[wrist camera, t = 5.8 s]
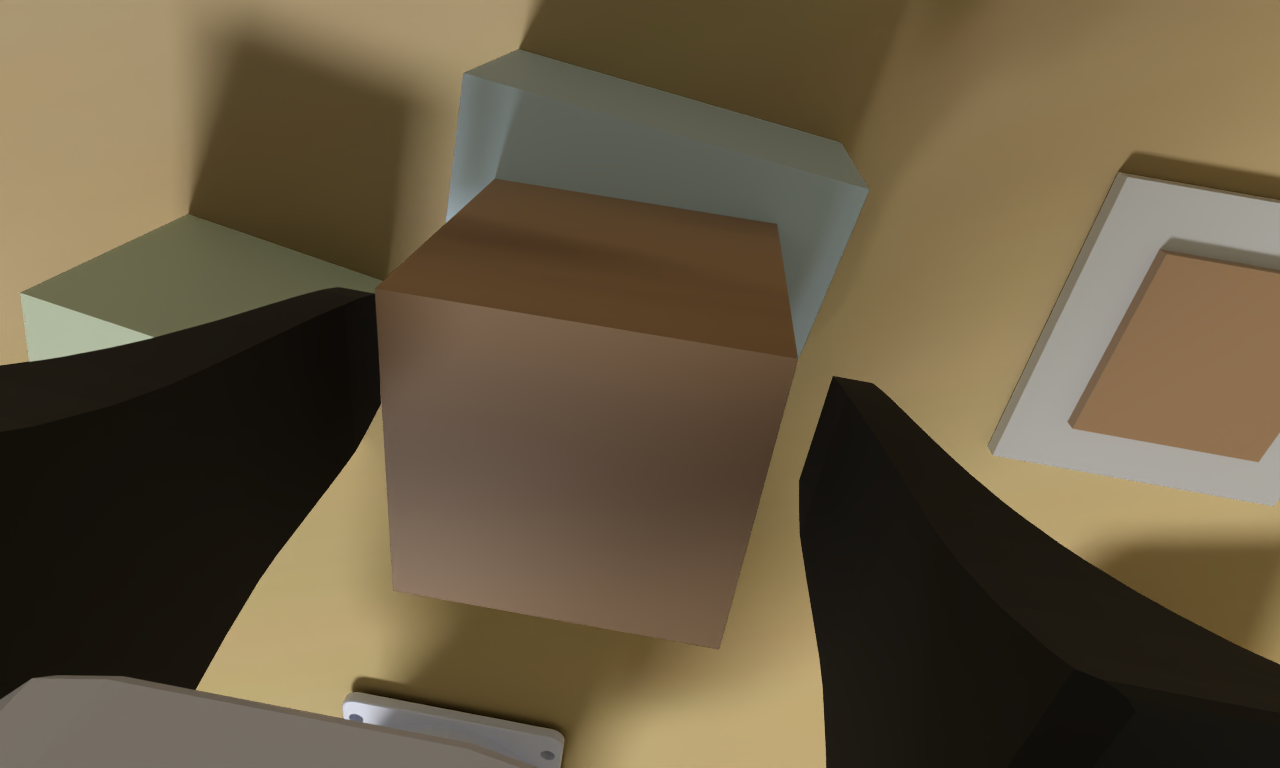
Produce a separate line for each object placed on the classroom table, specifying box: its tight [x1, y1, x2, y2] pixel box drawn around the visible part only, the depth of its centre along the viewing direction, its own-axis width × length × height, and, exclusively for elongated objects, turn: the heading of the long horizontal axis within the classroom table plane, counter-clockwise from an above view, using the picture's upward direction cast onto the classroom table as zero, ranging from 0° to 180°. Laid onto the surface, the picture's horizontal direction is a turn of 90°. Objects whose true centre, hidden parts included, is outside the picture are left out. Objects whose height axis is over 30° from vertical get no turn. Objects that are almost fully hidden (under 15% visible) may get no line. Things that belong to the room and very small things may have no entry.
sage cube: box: [20, 214, 382, 362], centre depth 17 cm, size 5×5×5 cm
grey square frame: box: [988, 172, 1280, 506], centre depth 17 cm, size 7×7×1 cm
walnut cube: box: [375, 179, 798, 649], centre depth 12 cm, size 5×5×5 cm
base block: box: [446, 49, 869, 359], centre depth 16 cm, size 7×7×4 cm
